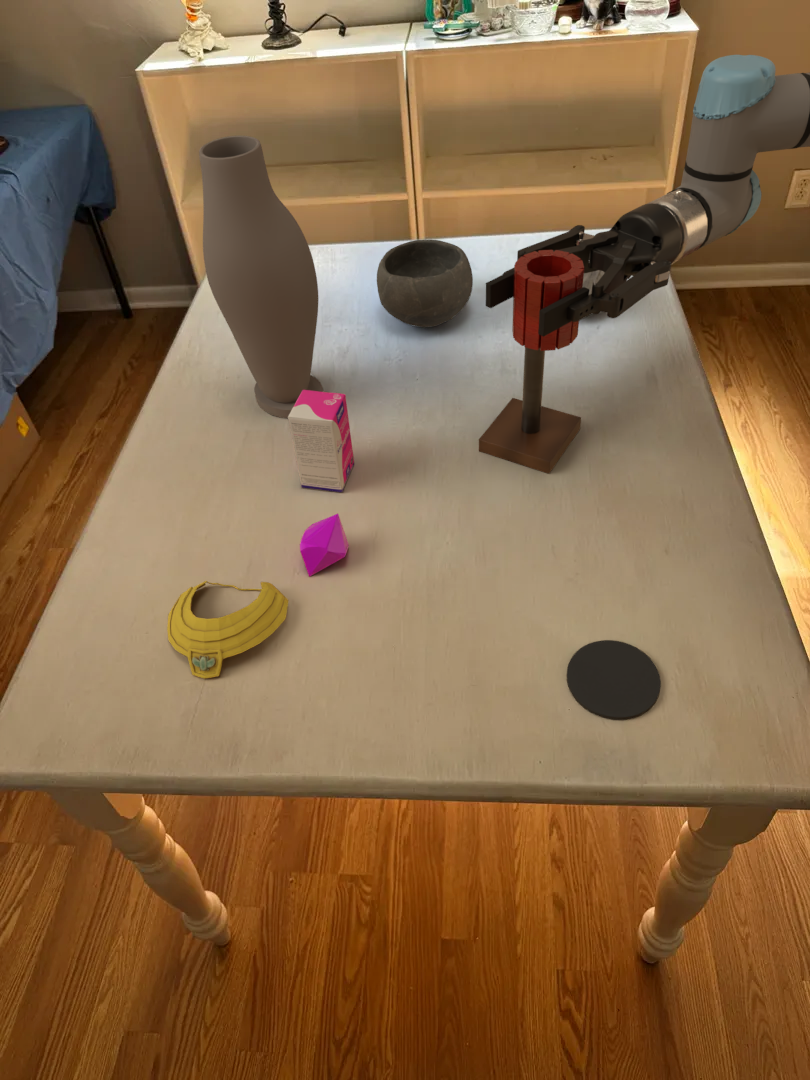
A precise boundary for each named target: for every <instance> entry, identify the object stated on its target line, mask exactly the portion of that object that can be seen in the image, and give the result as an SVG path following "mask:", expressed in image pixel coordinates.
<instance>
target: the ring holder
mask: <svg viewBox="0 0 810 1080" xmlns="http://www.w3.org/2000/svg"><path fill="white" fill-rule="evenodd" d="M545 357H546V351H541V350H540V349H539V350H534V349H530V348H526V347H525V346H524V360H523V380H522V381H523V382H522V383H523V384H522V399H519V398H517V397H516V398H515V397H512V398H511V399H510V400H509V402H508V403H507V404H506V405H505V407H504V408H503V409H502V410H501V411H500V412H499V414H498V415H497V416H496V417H495V418H494V420H493V421H492V423H490V425H489V426H488V427H487V429H486V430H485V431H484V432H483V434H482V435H481V436H480V437H479V438H478V451H479V452H481V453H483V454H487V455H490V456H493V457H496V458H499V459H502V460H505V461H508V462H512V463H513V464H518V465H520V466H524V467H527V468H530V469H533V470H536V471H540V472H542V473H545V474H548V475H549V474H551V472H552V471H553V470H554V468H555V466H556V465H557V463H558V462H559V460H560V459H561V457H562V456H563V454H564V453H565V452H566V450H567V449H568V447H569V446H570V445H571V443H572V442H573V440H574V439H575V437H576V436H577V434H579V432H580V430H581V425H582V417H581V416H578V415H575V414H572V413H567V412H564V411H561V410H557V409H553V408H551V407H547V406H544V405H542V402H543V385H544V373H545V372H544V371H545Z"/></svg>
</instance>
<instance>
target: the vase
mask: <svg viewBox="0 0 810 1080" xmlns="http://www.w3.org/2000/svg"><path fill="white" fill-rule="evenodd" d="M262 147H263V146H262V144H261V141H260V140H259V139H258V138H256V137H254V136H251V135H250V136H249V135H227V136H223V137H218V138H216V139H213V140H211V141H208V142H206V143H205V144H203V145H201V147H200V148H199V150H198V158H199V163H200V164H199V165H200V172H201V180H202V203H203V204H202V207H203V209H202V211H203V212H202V213H203V215H202V217H203V218H202V219H203V220H202V253H203V260H204V261H203V263H204V268H205V269H204V270H205V275H206V279H207V281H208V282H207V283H208V285H209V288H210V290H211V293H212V296H213V298H214V300H215V302H216V304H217V306H218V308H219V310H220V312H221V315H222V317H223V319H224V320H225V322H226V324H227V326H228V328H229V330H230V332H231V334H232V336H233V338H234V340H235V342H236V344H237V346H238V348H239V351H240V353H241V354H242V357H243V359H244V361H245V364H246V365H247V367H248V370H249V371H250V373H251V375H252V377H253V379H254V381H255V384H254V387H253V389H254V390H253V391H254V396H255V401H256V403H257V406H258V407H259V408H260V409H261V410H263V411H264V412H265V413H267V414H269V415H271V416H273V417H278V418H283V419H288V416H289V414H290V412H291V410H292V408H293V407H294V405H295V403H296V401H297V399H298V397H299V395H300V394H301V392H302V390H310V391H319V392H324V387H323V385H322V382H320V379H318V378H317V377H315V376H314V375H312V367H313V358H314V349H315V341H316V332H317V324H318V316H319V315H318V314H319V285H318V278H317V272H316V267H315V261H314V259H313V255H312V251H311V249H310V247H309V244H308V241H307V239H306V236H305V234H304V233H303V230H302V228H301V226H300V224H299V223H298V221H297V220H296V218H295V217H294V215H293V214H292V212H291V211H290V210H289V209H288V208H287V206H286V205H285V204H284V203H283V202H282V201H281V200H280V198H279V197H278V196H277V194H276V192H275V191H274V189H273V187H272V183H271V181H270V178H269V173H268V170H267V165H266V161H265V156H264V152H263V148H262Z"/></svg>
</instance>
